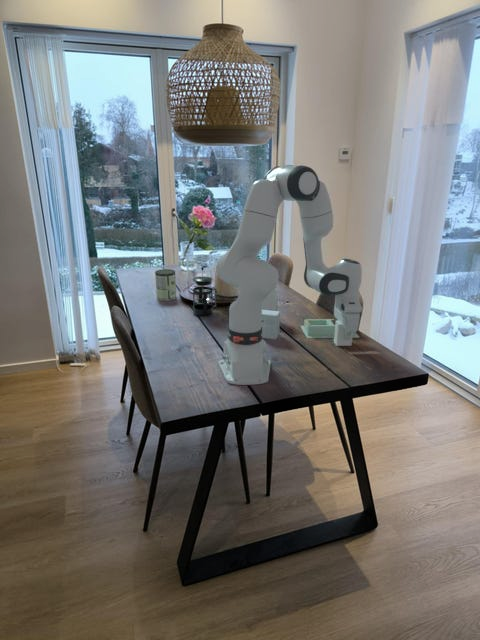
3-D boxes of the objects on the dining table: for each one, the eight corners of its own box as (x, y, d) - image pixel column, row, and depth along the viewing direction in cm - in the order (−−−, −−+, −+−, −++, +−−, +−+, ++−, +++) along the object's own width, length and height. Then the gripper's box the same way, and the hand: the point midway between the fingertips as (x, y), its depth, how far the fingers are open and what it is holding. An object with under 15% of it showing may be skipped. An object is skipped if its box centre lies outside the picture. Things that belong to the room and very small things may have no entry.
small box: (279, 334, 183) (280, 311, 179) (276, 339, 178) (277, 315, 174) (260, 332, 185) (261, 309, 181) (257, 337, 180) (258, 313, 176)
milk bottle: (275, 324, 194) (277, 281, 187) (258, 323, 195) (259, 279, 189) (277, 318, 201) (279, 276, 194) (260, 317, 203) (262, 275, 196)
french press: (194, 317, 201) (193, 268, 193) (189, 311, 209) (188, 264, 201) (218, 315, 204) (218, 267, 196) (213, 309, 213) (213, 262, 205)
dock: (359, 339, 179) (361, 327, 177) (306, 340, 178) (307, 328, 176) (349, 327, 192) (350, 315, 190) (300, 327, 191) (300, 316, 189)
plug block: (351, 347, 171) (353, 324, 168) (336, 348, 171) (338, 324, 167) (348, 343, 175) (350, 320, 172) (333, 344, 175) (335, 320, 171)
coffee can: (160, 294, 234) (158, 268, 229) (178, 295, 233) (177, 269, 228) (153, 300, 225) (152, 273, 220) (173, 301, 223) (172, 274, 218)
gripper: (331, 293, 176) (328, 325, 181) (346, 309, 157) (342, 345, 162) (346, 293, 176) (343, 325, 181) (363, 309, 157) (359, 344, 162)
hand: (343, 334), depth 171 cm, fingers open, 8 cm apart
